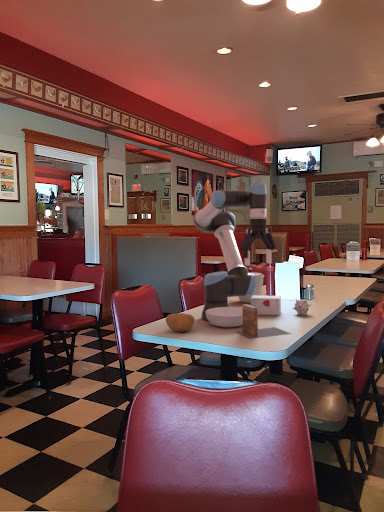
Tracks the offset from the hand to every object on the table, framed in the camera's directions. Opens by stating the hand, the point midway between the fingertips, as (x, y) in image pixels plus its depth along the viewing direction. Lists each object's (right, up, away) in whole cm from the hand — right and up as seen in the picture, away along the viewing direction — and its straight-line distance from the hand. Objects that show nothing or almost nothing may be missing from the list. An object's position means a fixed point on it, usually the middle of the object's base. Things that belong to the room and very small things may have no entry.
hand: (258, 264), depth 188 cm
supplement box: (+1, -22, +30) cm, 37 cm away
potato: (-36, -30, -7) cm, 47 cm away
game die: (+26, -27, +23) cm, 44 cm away
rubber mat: (-1, -29, -15) cm, 33 cm away
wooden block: (-6, -29, -17) cm, 34 cm away
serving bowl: (-14, -29, +1) cm, 32 cm away
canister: (+5, -25, +65) cm, 70 cm away
